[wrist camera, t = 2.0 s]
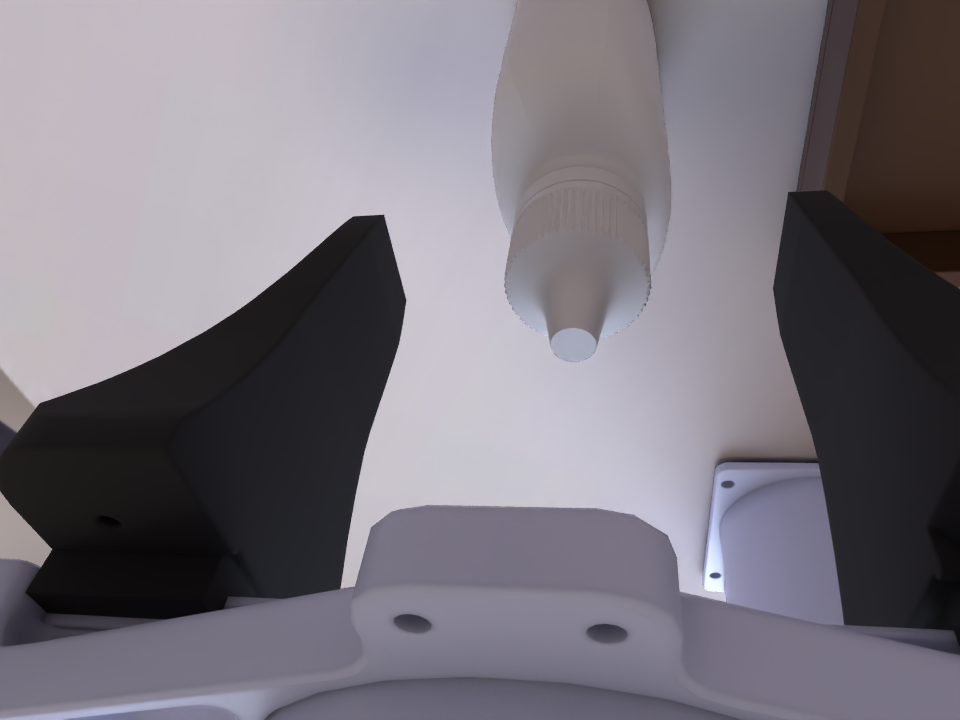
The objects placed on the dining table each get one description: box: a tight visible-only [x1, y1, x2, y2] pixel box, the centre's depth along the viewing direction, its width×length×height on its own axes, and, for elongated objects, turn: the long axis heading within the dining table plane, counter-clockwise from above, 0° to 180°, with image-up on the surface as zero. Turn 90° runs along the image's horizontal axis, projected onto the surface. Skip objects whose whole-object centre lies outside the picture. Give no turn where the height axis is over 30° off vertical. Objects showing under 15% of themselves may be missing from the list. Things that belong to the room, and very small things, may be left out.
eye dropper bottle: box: [491, 0, 671, 362], centre depth 16 cm, size 4×6×12 cm
